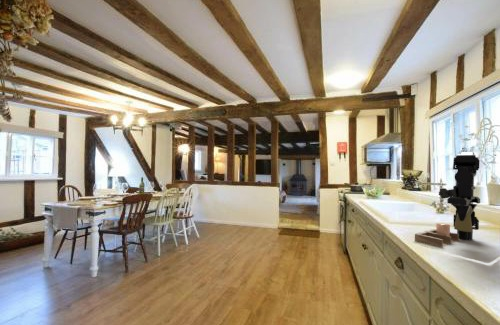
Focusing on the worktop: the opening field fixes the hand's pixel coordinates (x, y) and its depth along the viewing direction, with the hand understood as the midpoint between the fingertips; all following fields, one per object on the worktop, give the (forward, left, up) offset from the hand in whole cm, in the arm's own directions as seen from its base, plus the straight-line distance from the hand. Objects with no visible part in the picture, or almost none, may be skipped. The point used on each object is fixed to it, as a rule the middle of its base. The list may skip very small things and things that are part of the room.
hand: (463, 220), depth 104 cm
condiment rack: (-1, -10, -12) cm, 16 cm away
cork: (0, 0, -4) cm, 4 cm away
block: (-6, -9, -11) cm, 15 cm away
